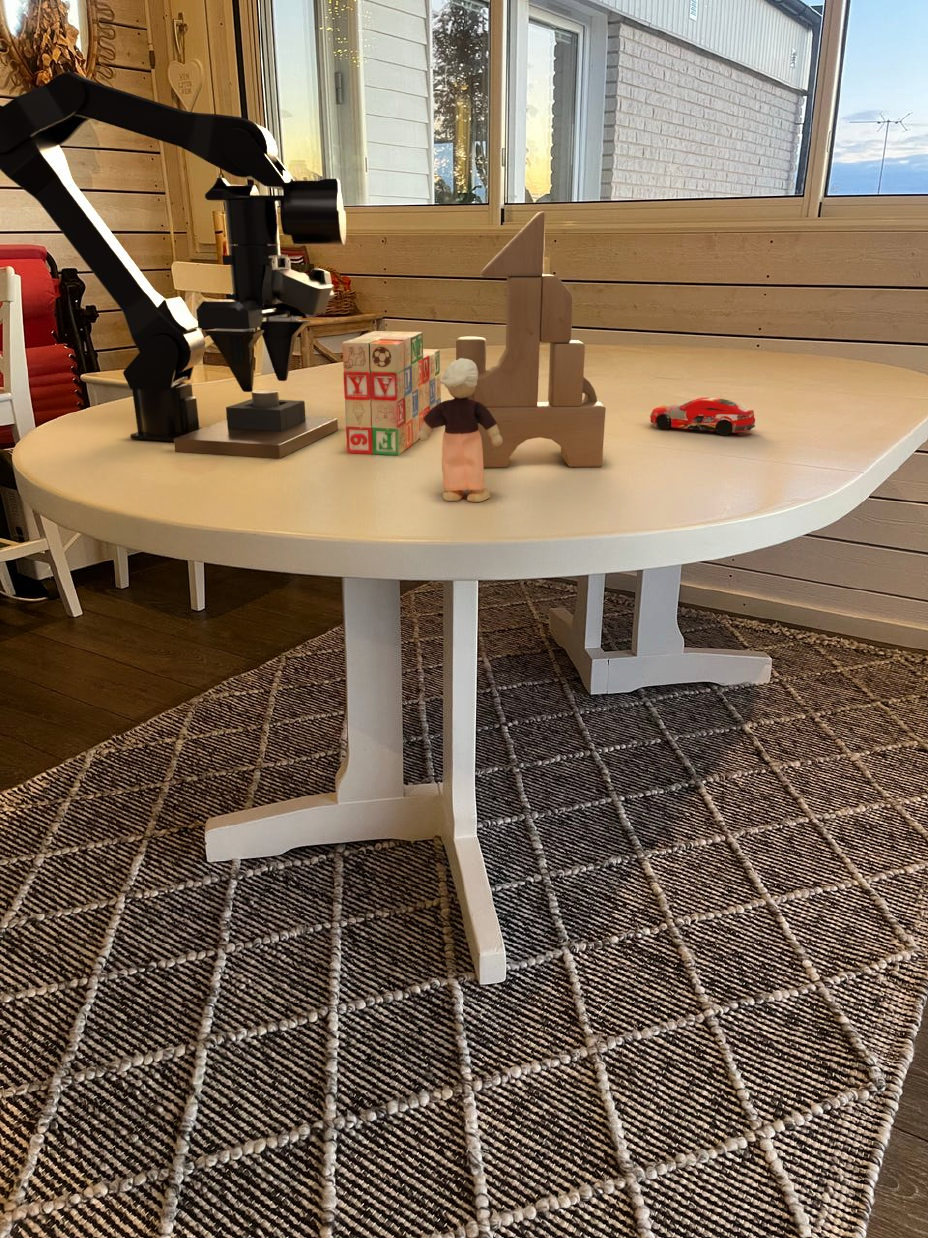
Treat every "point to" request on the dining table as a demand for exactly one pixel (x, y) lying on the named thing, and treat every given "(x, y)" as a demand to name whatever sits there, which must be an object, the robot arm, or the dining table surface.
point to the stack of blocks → (388, 390)
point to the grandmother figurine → (462, 433)
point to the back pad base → (256, 434)
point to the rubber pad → (266, 416)
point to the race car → (705, 416)
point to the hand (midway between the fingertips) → (265, 385)
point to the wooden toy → (535, 362)
